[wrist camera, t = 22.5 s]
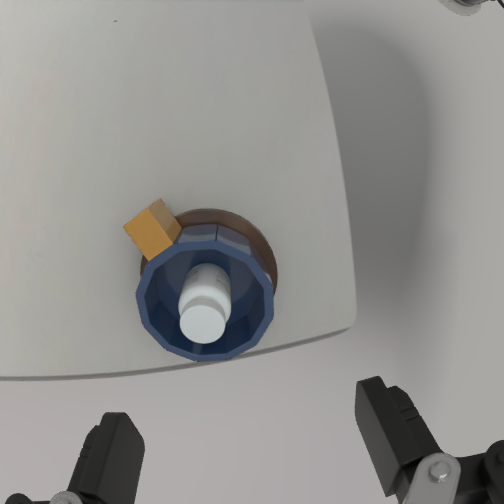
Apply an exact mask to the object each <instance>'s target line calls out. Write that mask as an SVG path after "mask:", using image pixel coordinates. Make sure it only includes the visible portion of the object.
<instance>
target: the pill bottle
mask: <svg viewBox="0 0 504 504" xmlns="http://www.w3.org/2000/svg"><path fill="white" fill-rule="evenodd" d="M178 308H179V313H180V316H181V317H180V328H181V330H182V332H183V334H184V335H185V336H186V337H187V338H188V339H190V340H192V341H194V342H197V343H211V342H214V341H216V340H217V339H219V338H220V337H221V336H222V334H223V332H224V330H225V323H226V322H227V320H228V319H229V317H230V313H231V286H230V279H229V276H228V274H227V273H226V272H225V270H224V269H223V268H221V267H220V266H218V265H215V264H212V263H202V264H199V265H196V266H195V267H193V268H192V269H191V270H190V271H189V272H188V274H187V276H186V279H185V282H184V285H183V289H182V292H181V296H180V299H179V305H178Z"/></svg>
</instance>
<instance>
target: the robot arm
mask: <svg viewBox="0 0 504 504" xmlns="http://www.w3.org/2000/svg"><path fill="white" fill-rule="evenodd" d="M454 1H456V2H457V3H459V4H461V5H463V6H467V7H471V6H473V5H476V4H480V3H483V2H486V1H488V0H454ZM491 1H495V0H491ZM497 1H498V2H499V3H500V4H501V6H502V7H503V8H504V3H503V2H502V0H497ZM355 417H356V422H357V425H358V427H359V430H360V432H361V435H362V437H363V440H364V442H365V445H366V447H367V450H368V452H369V455H370V457H371V460H372V462H373V465H374V467H375V470H376V473H377V475H378V478H379V480H380V483H381V485H382V488H383V491H384V493H385V496H386V497H388V496H391V495H393V494H396V497H397V499H398V504H504V440H500V441H497V442H495V443H494V444H492V445H491V446H490V447H489V449H488V450H487V451H486V453H481V454H477V455H472V456H467V457H453V456H452V455H450V454H446V453H444V452H443V451H442V450H441V449H440V447H439V446H438V444H437V443H436V441H435V439H434V437H433V436H432V434H431V432H430V431H429V429H428V427H427V425H426V424H425V422H424V420H423V419H422V417H421V416H420V415H419V412H418V410H417V409H416V407H414V404H413V402H412V401H411V399H410V397H409V396H408V394H407V393H406V392H404V391H403V390H401V389H400V388H398V387H397V386H393V387H390V388H387V387H386V386H385V384H384V382H383V380H382V379H381V377H379V376H375V377H372V378H368V379H365V380H361V381H358V382H357V386H356V399H355ZM144 452H145V445H144V440H143V438H142V436H141V435H140V433H139V432H138V430H137V428H136V427H135V425H134V424H133V422H132V421H131V419H130V418H129V416H128V415H127V414H126V413H123V412H121V413H120V412H116V413H115V412H106V413H105V414H104V415H103V417H102V420H101V423H100V425H99V426H97V425H95V427H94V428H93V429H92V430H91V431H90V433H88V435H87V437H86V439H85V442H84V444H83V448H82V450H81V452H80V457H79V458H78V461H77V463H76V466H75V469H74V472H73V475H72V478H71V480H70V484H69V486H68V489H67V491H63V492H59V493H57V494H56V495H55V496H54V497H53V498H52V499H51V501H34V502H33V501H31V500H30V499H29V498H28V497H27V496H25V495H24V494H20V493H17V494H13V495H11V496H10V497H9V498H8V499H7V501H6V503H5V504H134V502H135V496H136V491H137V486H138V481H139V476H140V471H141V466H142V462H143V457H144Z"/></svg>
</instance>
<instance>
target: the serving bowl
mask: <svg viewBox="0 0 504 504" xmlns="http://www.w3.org/2000/svg"><path fill="white" fill-rule="evenodd" d="M123 228H124V229H125V231H126V232H127V233H128V235H129V236H130V237H131V239H132V240H133V241H134V243H135V244H136V245H137V247H138V248H139V249H140V251H141V252H142V253H143V255H144V256H145V257H146V258H147V260H148V262H147V264H146V266H145V269H144V272H143V274H142V277H141V280H140V282H139V285H138V288H137V291H136V300H137V304H138V309H139V313H140V317H141V321H142V325H144V328H145V329H146V330H147V331H148V332H149V333H150V334H151V335H152V336H153V337H154V339H155V340H156V341H157V342H158V343H159V344H160V345H161V346H162V347H163V348H164V349H165V348H166V350H167V351H169V352H172V353H174V354H177V355H180V356H182V357H185V358H187V359H190V360H193V361H197V362H204V361H222V360H228V359H229V360H230V359H232V358H234V357H236V356H237V355H239V354H241V353H243V352H245V351H246V350H248V349H250V348H252V347H254V346H255V345H257V344H258V342H259V341H260V339H261V337H262V336H263V334H264V333H265V331H266V329H267V328H268V326H269V325H270V323H271V321H272V320H273V317H274V303H273V285H272V282H271V278H270V275H269V272H268V269H267V266H266V263H265V262H264V260H263V259H262V257H261V256H260V254H259V253H258V251H257V249H256V248H255V247H254V246H253V244H252V243H251V241H250V240H249V239H248V238H247V237H245V236H243V235H241V234H239V233H238V232H236V231H234V230H232V229H229V228H227V227H223V226H221V225H217V224H201V225H194V226H188V227H185V228H182V227H181V226H180V224H179V223H178V222H177V220H176V219H175V218H174V216H173V215H172V213H171V212H170V211H169V209H168V208H167V207H166V205H165V204H164V202H163V201H162V200H161V198H160V199H158V200H157V201H156V202H154V203H153V204H152V205H150V206H149V207H148V208H146V209H145V210H144V211H142V212H141V213H140V214H138V215H137V216H136V217H135V218H133V219H132V220H131V221H130V222H128V223H127V224H126V225H125V226H123ZM202 263H212V264H215V265H218V266H220V267H221V268H223V269H224V270H225V272H226V273H227V274H228V276H229V279H230V286H231V313H230V317H229V319H228V320H227V322H226V323H225V330H224V332H223V334H222V336H221V337H220V338H219V339H217V340H216V341H214V342H211V343H197V342H194V341H192V340H190V339H188V338H187V337H186V336H185V335H184V334H183V332H182V330H181V328H180V317H181V316H180V313H179V308H178V305H179V299H180V296H181V292H182V289H183V285H184V282H185V279H186V276H187V274H188V272H189V271H190V270H191V269H192V268H193V267H195V266H196V265H199V264H202ZM256 343H257V344H256Z"/></svg>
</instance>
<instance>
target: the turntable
mask: <svg viewBox="0 0 504 504" xmlns="http://www.w3.org/2000/svg"><path fill="white" fill-rule="evenodd" d="M174 218H175V219H176V220H177V222H178V223H179V224H180V226H181V227H182V228H185V227H188V226H194V225H201V224H217V225H221V226H223V227H227V228H229V229H232V230H234V231H236V232H238V233H239V234H241V235H243V236H245V237H247V238H248V239H249V240H250V241H251V243H252V244H253V246H254V247H255V248H256V249H257V251H258V253H259V254H260V256H261V257H262V259H263V260H264V262H265V263H266V266H267V269H268V272H269V275H270V278H271V282H272V285H273V297H274V294H275V291H276V286H277V266H276V261H275V258H274V255H273V252H272V250H271V248H270V246H269V244H268V242H267V240H266V239H265V237H264V236H263V235H262V233H261V232H260V231H259V230H258V229H257V228H256V227H255V226H254V225H252V224H251V223H250V222H249V221H247V220H246V219H244V218H242V217H241V216H238V215H236V214H234V213H231V212H228V211H224V210H219V209H196V210H192V211H188V212H184V213H182V214H180V215H177V216H175V217H174ZM147 262H148V260H147V258H146V257H145V256H144V255H143V257H142V262H141V272H140V275H141V277H142V274H143V272H144V269H145V266H146V264H147Z"/></svg>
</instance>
